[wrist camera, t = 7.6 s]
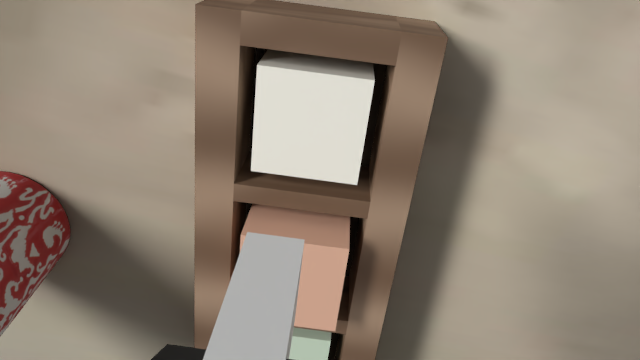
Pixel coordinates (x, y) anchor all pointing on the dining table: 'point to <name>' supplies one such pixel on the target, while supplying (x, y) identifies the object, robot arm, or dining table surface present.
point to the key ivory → (311, 116)
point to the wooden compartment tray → (301, 193)
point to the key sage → (310, 344)
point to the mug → (27, 241)
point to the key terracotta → (310, 258)
